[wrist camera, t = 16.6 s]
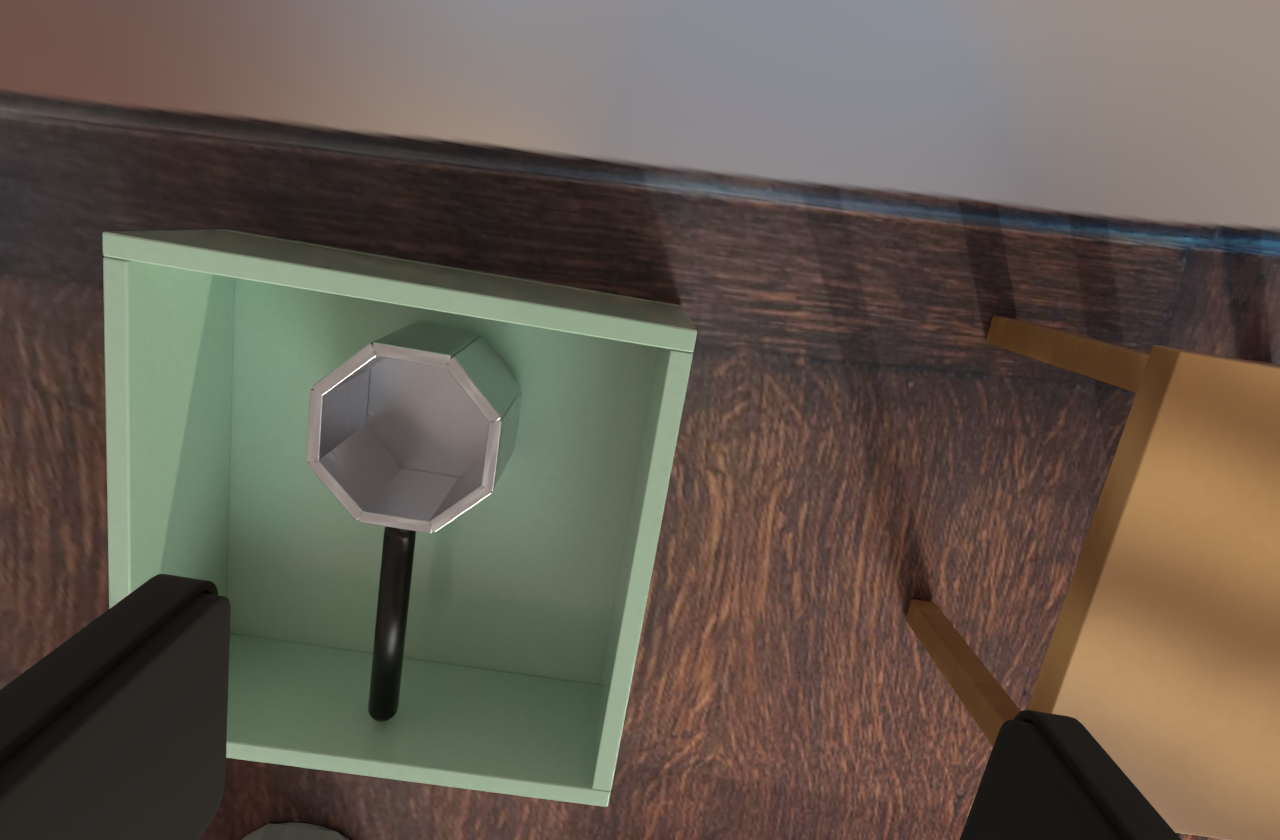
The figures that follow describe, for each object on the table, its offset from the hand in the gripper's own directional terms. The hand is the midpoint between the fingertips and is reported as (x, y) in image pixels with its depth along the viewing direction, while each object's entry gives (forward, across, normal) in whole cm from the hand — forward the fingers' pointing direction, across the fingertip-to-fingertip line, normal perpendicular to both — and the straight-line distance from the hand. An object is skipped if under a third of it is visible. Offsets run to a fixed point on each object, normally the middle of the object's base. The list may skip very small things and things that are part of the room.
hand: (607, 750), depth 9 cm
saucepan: (+24, +8, +8) cm, 27 cm away
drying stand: (+26, -22, +3) cm, 34 cm away
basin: (+25, +8, +7) cm, 27 cm away
